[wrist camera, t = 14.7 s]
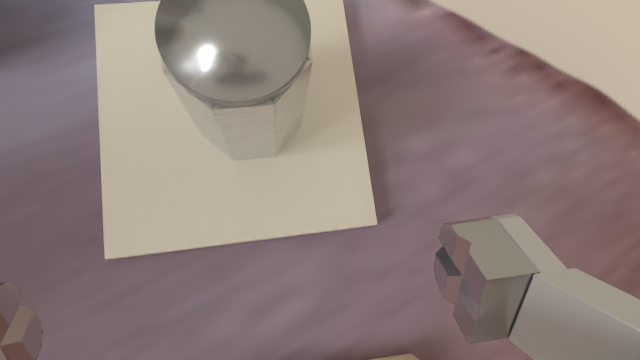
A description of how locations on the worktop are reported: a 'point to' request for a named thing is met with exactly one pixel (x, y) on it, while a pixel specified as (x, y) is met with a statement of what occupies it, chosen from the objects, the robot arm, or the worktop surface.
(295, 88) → the silver metal canister
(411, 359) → the post stand
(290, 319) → the worktop surface
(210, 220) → the board
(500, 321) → the robot arm
